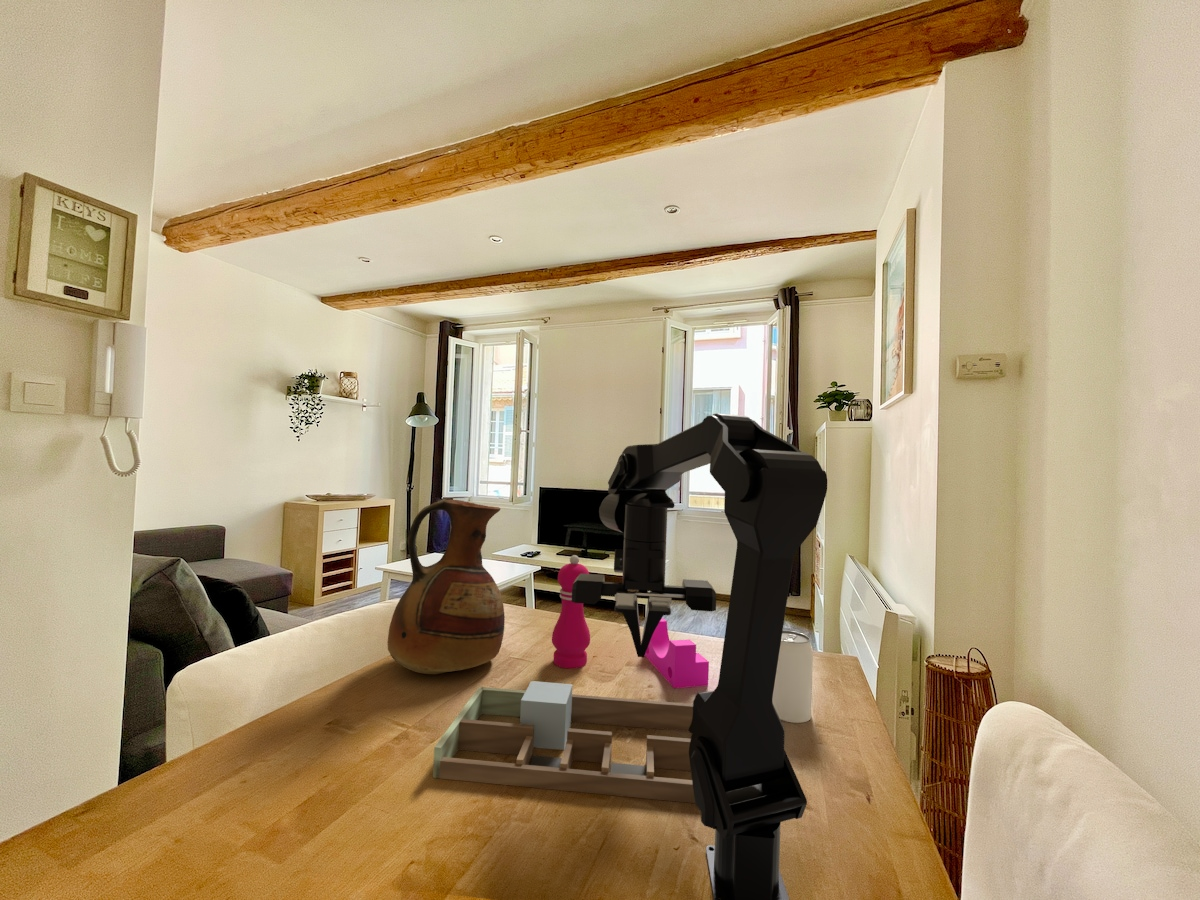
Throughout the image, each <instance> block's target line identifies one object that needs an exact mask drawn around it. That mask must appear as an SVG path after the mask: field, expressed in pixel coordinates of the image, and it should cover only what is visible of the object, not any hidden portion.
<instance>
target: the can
mask: <svg viewBox="0 0 1200 900" xmlns="http://www.w3.org/2000/svg"><path fill="white" fill-rule="evenodd" d="M813 662H814V651H813V647H812V644H811V638H810V637H809V636H808V635H806V634H805V633H801V632H798V631H792V630H786V629H785V630H784V629H783V631H782V638H781V644H780V651H779V658H778V664H777V671H776V677H775V684H774V691H773V701H772V702H773V705H774V707H775V709H776V712H777V714H778V716H779V718H780V720H781V722H782V721H783V722H787V723H792V724H801V723H805V722H809V720H811V719H812V706H813V705H812V703H813V701H812V700H813V668H814V663H813Z"/></svg>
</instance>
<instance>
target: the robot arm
mask: <svg viewBox="0 0 1200 900" xmlns="http://www.w3.org/2000/svg"><path fill="white" fill-rule="evenodd" d="M618 457H619V458H618V460H617V463H616V464H615V466H614V467H615V468H614V469H613V471H612V473H611V475H610V477H609V479H608V481H607V485H608V488H607V489H608V490H607V493H608V495H607V496H605V497H604V499H603V500H602V502H601V503H600V505H599V509H598V514H599V519H600V521H601V522H602V524H603V525H604V526H605V527H607V528H608V529H610V530H614V531H617V532H620V533H623V549H620V548H619V549H614V557H613V558H614V561H613V562H614V563H613V571H614V573H618V574H620V573H622V582H618V581H617V582H615V581H605V574H594V573H593V574H592V573H589V574H580V575H579V576H578V577H577V578H576V579H575V581H574V583H573V587H572V602H574V603H583V605H584V604H587V605H596V604H597V603H598V602H599V601H600V600H601V599H602V597H610V598H611V597H612V598H613V597H614V600H615V605H614V611H615V612H617V613H622V616H623V618H624V619H625V622H626V624H627V626H628V629H629V631H630V635H631V637H632V641H633V645H634V648H635V652H636V655H637V658H644V657H646V656H645V653H646V650H647V648H648V645H649V643H650V640H651V638H652V635H653V633H654V631H655V629H656V627H657V625H658V624H659V622H660V620H661V618H663V616H671V615H672V609H671V605H670V604H672V601H678V602H679V601H681V602H683V601H684V602H685V604H686V606H688V607H689V609H690V610H691V611H697V612H698V611H700V612H716V611H717V592H716V590H715V589H714V587H713V586H712V583H710V582H709V581H708V580H701V579H699V580H698V579H686V578H685V579H682V583H681V585H668V584H666V560H667V559H666V556H667V531H668V529H667V528H668V509H674V508H675V506H676V505H675V502H674V500H673V499H672V498H671V497H670V496H669V495H668V493H667V492H666V491H667V490H669V489H671V488H672V487H674V486H675V485H677V484H678V483H679V482H680V481H681V480H682V475H683V474H684V473H688V472H689V471H693V470H696V469H699V468H701V467H704V466H707V465H709V474H710V475H711V477H712V478H713V479H714V481H716V482H717V484H718V485H719V486H720V487H721V489H722V490H723V491H724V508H723V509H724V515H725V517H726V519H727V522H728V523H729V525H730V528H731V530H732V533H733V534H734V537H735V539H736V551H735V552H736V553H735V559H734V567H733V572H732V581H731V588H730V596H729V603H728V610H727V617H726V623H725V624H726V625H725V632H724V638H723V646H722V652H721V653H722V654H721V661H720V669H719V675H718V683H717V686H716V687H715V689H714V690H711V691H703V692H697V693H696V694H695V698H694V699H693V701H692V702H693V703H692V704H693V718H692V722H691V725H690V727H689V731H688V732H689V733H691V736H690V739H691V742H690V746H689V759H690V767H691V771H690V774H691V780H692V783H693V791H694V797H695V803H694V804H695V807H696V808H697V809H698V810H699V811H700V813H701V814H700V822H701V823H702V825H703V826H704V827H707V828H710V829H713V830H714V831H715V832H714V845H712V844H708V845H706V847H705V855H706V861H707V867H708V873H709V878H710V886H711V892H712V897H713V900H790V898H789V895H788V891H787V888H786V886H785V882H784V879H783V877H782V873H781V871H780V855H781V854H780V853H781V852H780V851H781V822H782V823H783V822H786V821H790V820H793V819H794V820H795V819H796V820H799V819H802V818H803V815H804V813H805V809H806V807H807V805H808V800H807V798H806V795H805V793H804V791H803V788H802V786H801V783H800V782H799V778H798V777H797V775H796V772H795V770H794V768H793V766H792V763H791V761H790V759H789V757H788V754H787V752H786V750H785V737H786V736H785V735H786V734H785V727H784V725H783V723H782V720H780V718H779V716H778V714H777V712H776V709H775V707H774V705H773V702H772V701H773V691H774V684H775V677H776V671H777V664H778V658H779V651H780V644H781V638H782V631H783V630H784V624H785V618H786V617H785V616H786V610H787V603H788V596H789V590H790V583H791V577H792V569H793V565H794V558H795V554H796V552H797V551H798V550H799V548H800V547H801V545H803V543H804V542H805V541H806V539H807V538H808V537H809V535H810V534H811V533H812V532H813V531H814V529H815V528H816V526H817V525H818V522H819V519H820V515H821V512H822V509H823V506H824V503H825V499H826V497H827V496H826V495H827V491H828V475H827V472H826V471H825V470H824V469H823V468H822V466H821V465H820V462H819V461H818V460H817V458H816V457H815V456H813V454H810V453H808V452H805V451H803V452H802V451H801V450H800V449H798V447H796V446H795V445H794V444H792V443H790V442H788V441H787V440H784V439H783V438H780V437H779V436H778V435H776V434H773V433H771V432H769V431H768V430H766V429H764V428H763V427H762V426H761V425H760V424H758V422H756V420H754V419H751V418H750V417H748V416H747V415H739V414H727V413H712V414H711V415H707V416H705V417H704V419H703V420H702V421H701V422H699V423H697V424H695V425H694V426H691V427H689V428H687V429H685V430H683V431H680V432H679V433H677V434H674V435H673V436H670V437H668V438H667V439H665V440H662V441H661V442H659V443H649V444H648V443H647V444H645V443H644V444H634V445H627V446H626V447H625V448H624V449H623V451H622V452H621V454H620V455H619V456H618ZM638 599H645V600H647V604H646V612H645V617H644V623H643V631H642V636H641V629H640V628H641V627H640V616H639V605H638V603H639V601H638Z"/></svg>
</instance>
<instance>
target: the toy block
mask: <svg viewBox="0 0 1200 900" xmlns="http://www.w3.org/2000/svg"><path fill="white" fill-rule="evenodd" d="M669 637H670V635H669V631H668V621H667V620H666V619H665V618H663V617H662V618H661V620H660V622H659V624H658V625H657V627H656V629H655V631H654V633H653V635H652V638H651V640H650V643H649V645H648V648H647V650H646V653H645V656H644V657H645V658H646V659H648V662H650V663H651V665H653V666H654V668H655V669H656V670H657V671H658V673H660V674H661V675H662V677H663V678H664V679H665V680H666V682H668V684H670V686H671V687H672V688H673V689H681V688H692V687H693V688H695V687H703V686H707V687H708V686H709V670H710V669H709V668H710V661H708V659H706V658H705V657H704V656H702V654H700V653H699V652H697V644H696V643H695V642H694V641H692V640H691V639H689V638H688V639H672V640H671V639H670V638H669Z"/></svg>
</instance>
